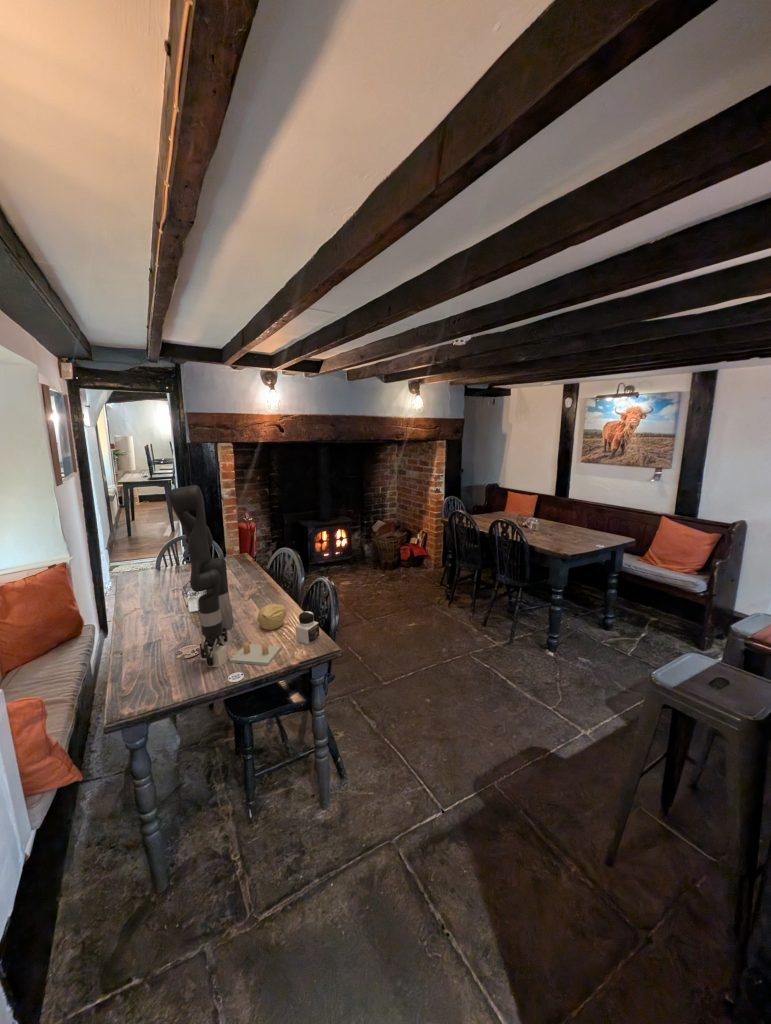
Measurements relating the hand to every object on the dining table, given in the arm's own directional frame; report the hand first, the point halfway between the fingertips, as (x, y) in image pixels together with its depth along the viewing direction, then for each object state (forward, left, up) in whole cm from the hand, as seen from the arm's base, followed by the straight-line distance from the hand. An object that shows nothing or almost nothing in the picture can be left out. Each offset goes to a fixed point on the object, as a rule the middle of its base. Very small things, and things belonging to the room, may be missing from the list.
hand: (216, 659), depth 162 cm
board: (-7, +13, -1) cm, 15 cm away
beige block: (0, 0, -1) cm, 1 cm away
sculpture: (-31, +8, -2) cm, 32 cm away
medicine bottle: (-22, +29, -2) cm, 37 cm away
